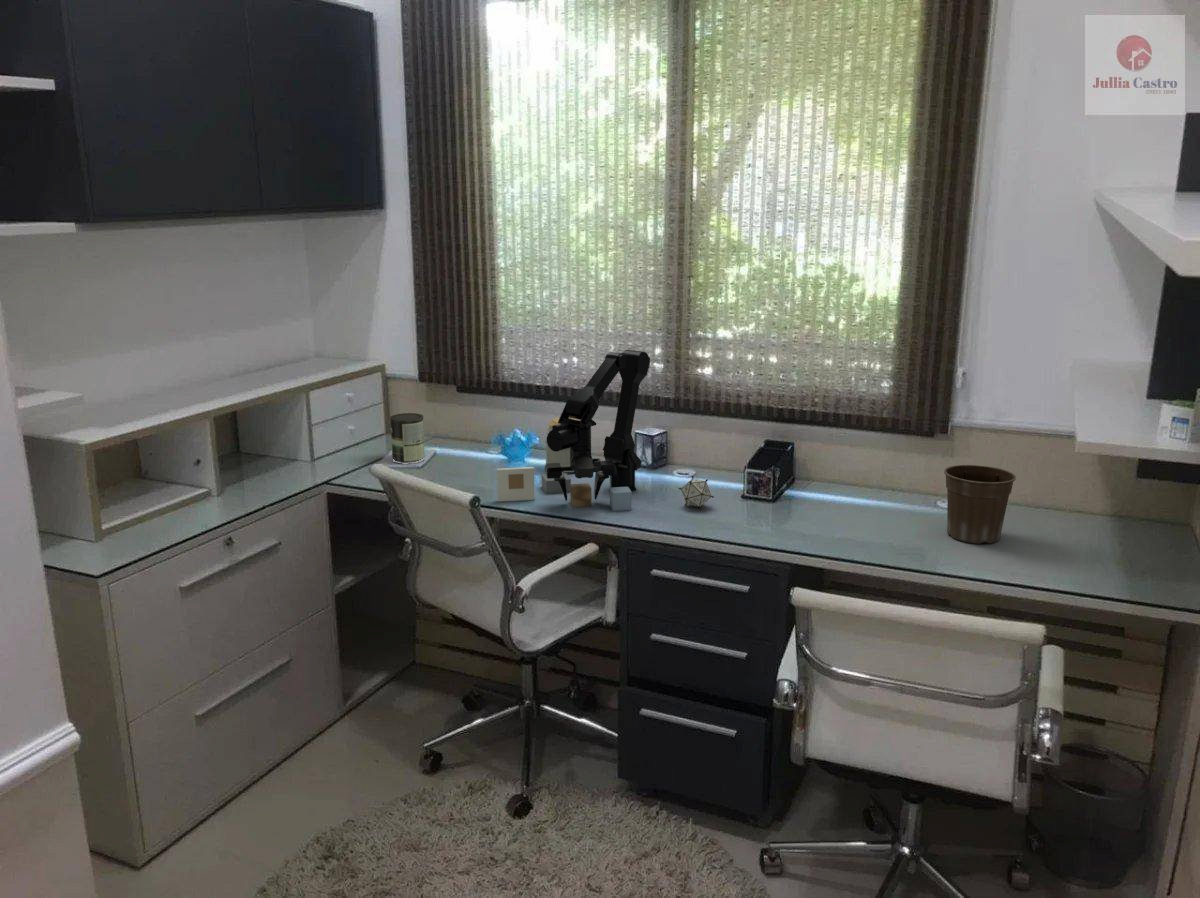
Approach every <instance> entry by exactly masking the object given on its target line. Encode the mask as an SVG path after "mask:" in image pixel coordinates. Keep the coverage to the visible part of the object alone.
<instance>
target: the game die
mask: <svg viewBox="0 0 1200 898" xmlns="http://www.w3.org/2000/svg"><path fill="white" fill-rule="evenodd" d="M694 477H695V476H693V475H691V479H689V481H688V482H686V484H685V485H683V486H682V487H678V490H679V491H681V493H682V496H683V497H684V498H683V499H684V501H685V504H684V507H686V506H688V505H689V506H693V507H697V508H698V510H699V511H701V510H702V508H701V507H702V506H703V505H704V504H705V503H706V502H708V500H709V499H711V498H713V499H714V498H715V496H714V495H712V494H711V492H710V488H709V485H708V483H707V482H708V480H709V479H708V478H707V479H705V480H702V479H697V478H694Z"/></svg>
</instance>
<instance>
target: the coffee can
mask: <svg viewBox="0 0 1200 898" xmlns="http://www.w3.org/2000/svg"><path fill="white" fill-rule="evenodd" d="M389 420H390V421H389V423H390V438H391V439H390V441H391V454H392V455H391V457H392V458H393V459H394V460H395V461H397V462H401V463H412V462H416V461H419V460H421V459H423V458H424V457H425V458H426V455H425V453H426V452H425V438H424V437H425V435H424V432H425V431H424V415H423V414H421V413H414V412H408V413H406V412H405V413H397V414H393V415H391V416H389ZM392 458H391V459H392Z"/></svg>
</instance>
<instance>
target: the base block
mask: <svg viewBox="0 0 1200 898" xmlns="http://www.w3.org/2000/svg"><path fill="white" fill-rule="evenodd" d="M564 477H565V480H566V490H567V493H570V484H572V480H571V477H570V476H569V475H568V474H566V473H564ZM541 488H542V490H543V492H544V493H545V494H547V495H551V494H552V495H553V494H561V493H562V494H563V491H562V489H561V486H560V484H559V482H558V481H554V479H553V478H552V479H549V478H547V476H546V474H545V473H542V474H541Z"/></svg>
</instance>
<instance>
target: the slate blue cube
mask: <svg viewBox="0 0 1200 898" xmlns="http://www.w3.org/2000/svg"><path fill="white" fill-rule="evenodd" d="M632 494H633V493H632V490H630V489H629V487H611V486H610V487H609V507H610V508H611V510H612V511H613V512H615V511H616V512H618V511H631V510H632V509H633V508H632V503H633V501H632V496H633V495H632Z"/></svg>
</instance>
